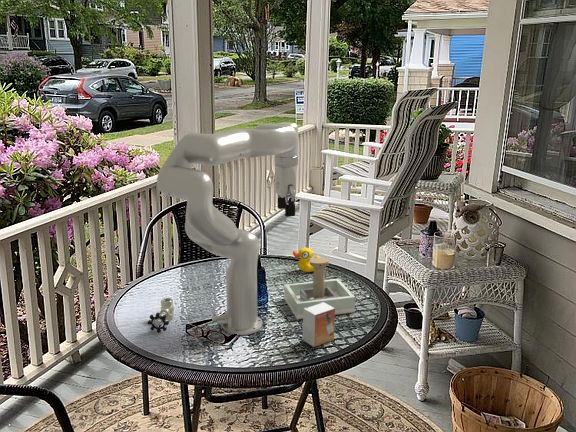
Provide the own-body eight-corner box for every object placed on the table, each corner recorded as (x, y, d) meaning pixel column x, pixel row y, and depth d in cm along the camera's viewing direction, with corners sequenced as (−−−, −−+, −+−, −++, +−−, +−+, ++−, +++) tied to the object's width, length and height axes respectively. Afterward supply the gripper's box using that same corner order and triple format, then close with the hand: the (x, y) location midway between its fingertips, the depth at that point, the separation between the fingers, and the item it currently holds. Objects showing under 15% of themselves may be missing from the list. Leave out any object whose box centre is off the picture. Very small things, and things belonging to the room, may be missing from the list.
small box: (313, 348, 155) (314, 315, 152) (302, 340, 159) (302, 308, 156) (334, 340, 159) (335, 308, 157) (322, 332, 164) (323, 301, 161)
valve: (159, 315, 175) (147, 332, 164) (158, 296, 173) (146, 313, 162) (179, 315, 175) (168, 333, 163) (178, 297, 173) (167, 314, 161)
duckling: (293, 274, 209) (293, 250, 206) (292, 269, 214) (292, 246, 211) (322, 273, 210) (322, 249, 207) (320, 268, 215) (320, 245, 212)
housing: (297, 319, 172) (297, 303, 171) (284, 298, 187) (284, 284, 186) (354, 312, 177) (355, 297, 176) (337, 292, 192) (338, 278, 191)
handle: (329, 304, 180) (330, 262, 175) (310, 305, 179) (311, 263, 175) (326, 297, 184) (327, 257, 180) (308, 298, 184) (308, 258, 179)
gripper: (268, 157, 179) (269, 206, 183) (281, 166, 163) (281, 220, 167) (290, 156, 181) (290, 205, 185) (305, 165, 165) (304, 218, 169)
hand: (286, 212), depth 176 cm, fingers open, 9 cm apart
